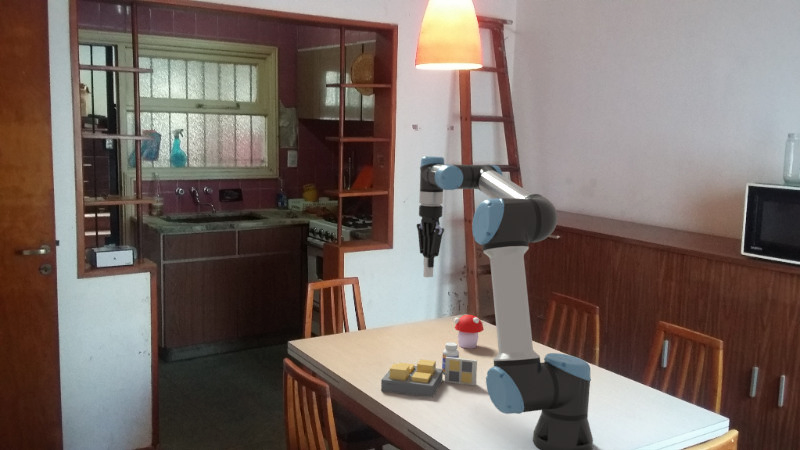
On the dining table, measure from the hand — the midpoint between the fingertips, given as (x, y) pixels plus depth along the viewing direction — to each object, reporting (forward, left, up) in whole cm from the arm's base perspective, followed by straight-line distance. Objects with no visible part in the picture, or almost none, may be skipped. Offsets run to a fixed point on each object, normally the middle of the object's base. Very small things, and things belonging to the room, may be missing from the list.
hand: (428, 276), depth 234 cm
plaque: (-6, -13, -32) cm, 35 cm away
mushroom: (+35, -9, -33) cm, 49 cm away
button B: (-16, +4, -30) cm, 34 cm away
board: (-13, +1, -32) cm, 35 cm away
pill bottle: (+3, -8, -33) cm, 34 cm away
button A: (-16, -2, -32) cm, 36 cm away
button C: (-9, -3, -30) cm, 31 cm away
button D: (-10, +5, -32) cm, 33 cm away
